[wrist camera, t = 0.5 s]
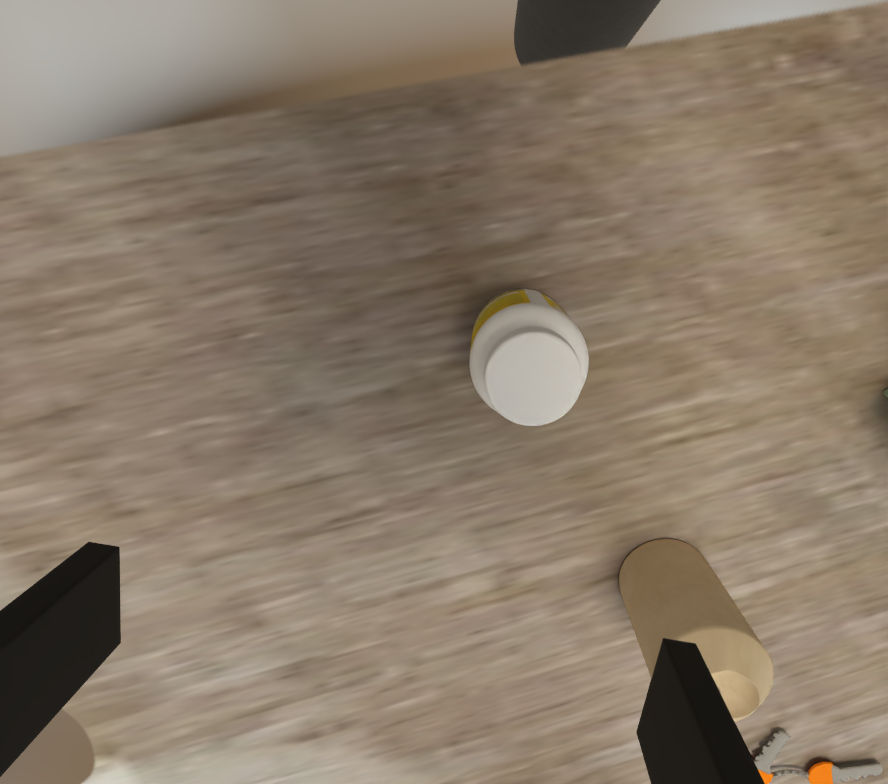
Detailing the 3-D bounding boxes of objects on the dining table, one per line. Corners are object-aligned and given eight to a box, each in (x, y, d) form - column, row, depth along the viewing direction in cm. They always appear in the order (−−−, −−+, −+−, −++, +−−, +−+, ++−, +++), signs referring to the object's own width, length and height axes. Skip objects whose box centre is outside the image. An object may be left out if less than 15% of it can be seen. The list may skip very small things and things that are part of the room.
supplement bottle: (462, 370, 34) (451, 424, 25) (485, 277, 33) (484, 296, 23) (554, 393, 34) (578, 455, 25) (581, 301, 33) (618, 329, 23)
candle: (628, 625, 38) (676, 760, 28) (608, 549, 36) (651, 664, 27) (717, 605, 37) (798, 738, 27) (699, 527, 36) (777, 638, 26)
